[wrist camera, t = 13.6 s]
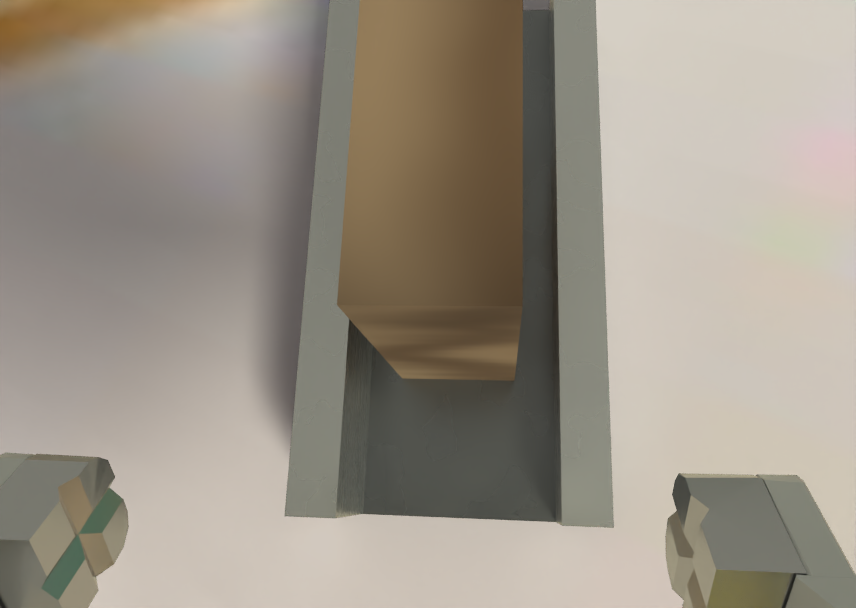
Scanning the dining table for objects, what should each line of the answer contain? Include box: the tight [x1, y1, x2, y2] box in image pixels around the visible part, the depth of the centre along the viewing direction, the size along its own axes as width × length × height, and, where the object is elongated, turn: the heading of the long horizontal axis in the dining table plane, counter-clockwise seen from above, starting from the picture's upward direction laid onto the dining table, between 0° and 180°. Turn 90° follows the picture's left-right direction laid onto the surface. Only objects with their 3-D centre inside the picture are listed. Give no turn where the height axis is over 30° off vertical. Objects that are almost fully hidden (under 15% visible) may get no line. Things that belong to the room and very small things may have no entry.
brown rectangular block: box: [337, 0, 523, 381], centre depth 21 cm, size 4×10×10 cm, turn 178°
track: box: [285, 0, 614, 528], centre depth 24 cm, size 10×20×5 cm, turn 178°
